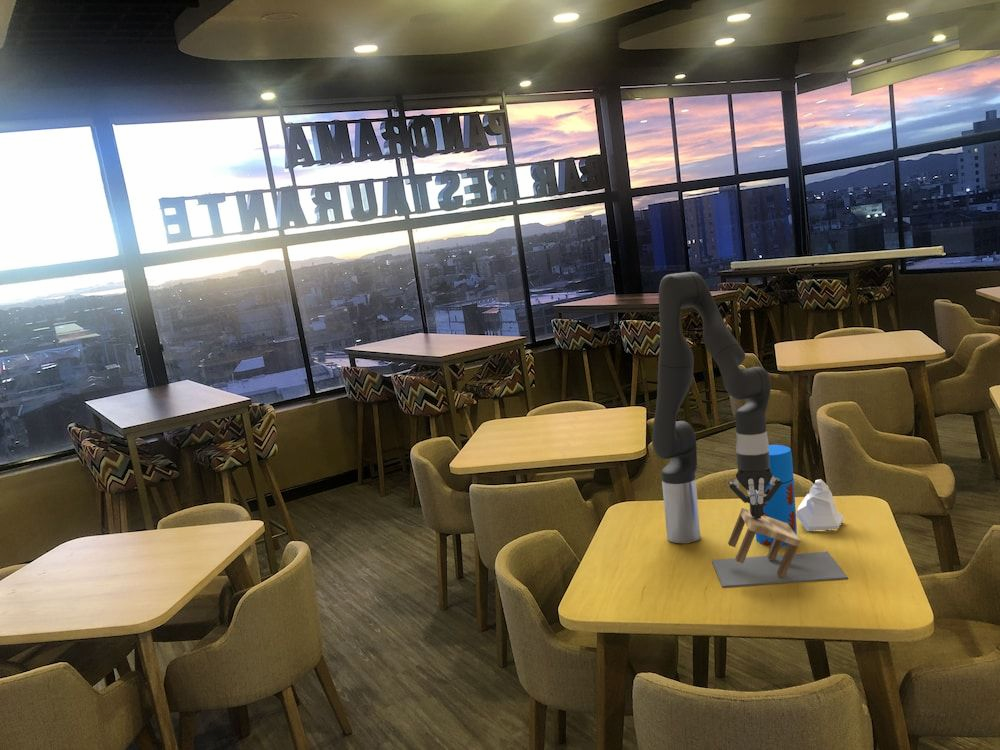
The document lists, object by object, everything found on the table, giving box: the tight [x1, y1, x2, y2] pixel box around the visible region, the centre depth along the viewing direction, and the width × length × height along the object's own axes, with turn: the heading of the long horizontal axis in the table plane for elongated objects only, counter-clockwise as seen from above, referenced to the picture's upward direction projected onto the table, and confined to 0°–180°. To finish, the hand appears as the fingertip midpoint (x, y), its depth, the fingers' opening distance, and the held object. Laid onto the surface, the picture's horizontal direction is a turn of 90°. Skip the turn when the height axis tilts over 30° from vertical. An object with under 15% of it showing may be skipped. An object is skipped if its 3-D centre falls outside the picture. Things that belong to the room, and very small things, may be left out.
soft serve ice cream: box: [796, 478, 845, 532], centre depth 224 cm, size 12×15×14 cm
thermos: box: [754, 444, 798, 547], centre depth 217 cm, size 11×11×25 cm
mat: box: [711, 551, 849, 588], centre depth 199 cm, size 16×29×1 cm, turn 84°
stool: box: [727, 507, 801, 578], centre depth 199 cm, size 12×10×12 cm
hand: (756, 517), depth 198 cm, fingers closed
